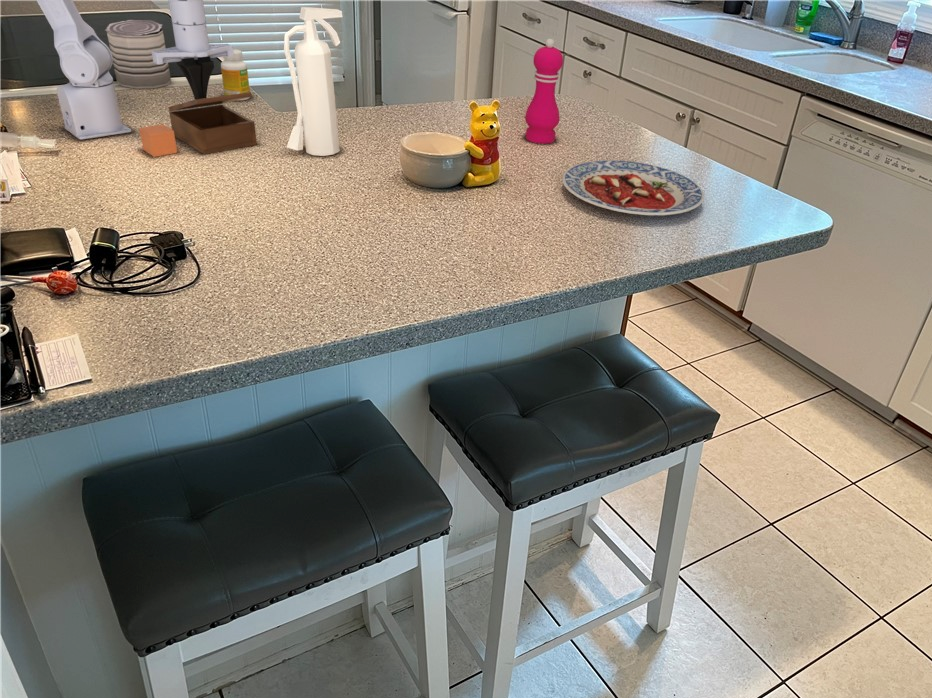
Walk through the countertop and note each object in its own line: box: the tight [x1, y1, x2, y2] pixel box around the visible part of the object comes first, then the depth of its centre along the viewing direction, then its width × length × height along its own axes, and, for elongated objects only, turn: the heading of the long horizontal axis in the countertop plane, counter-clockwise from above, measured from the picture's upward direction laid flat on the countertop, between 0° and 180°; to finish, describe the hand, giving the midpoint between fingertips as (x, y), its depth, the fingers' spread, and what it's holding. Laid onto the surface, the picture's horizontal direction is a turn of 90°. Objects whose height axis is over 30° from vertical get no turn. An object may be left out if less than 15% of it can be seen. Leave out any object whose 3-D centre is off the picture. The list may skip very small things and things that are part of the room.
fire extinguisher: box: [283, 6, 343, 157], centre depth 140 cm, size 7×12×25 cm, turn 123°
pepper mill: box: [524, 38, 564, 145], centre depth 159 cm, size 7×7×20 cm
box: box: [168, 104, 258, 155], centre depth 147 cm, size 13×11×4 cm
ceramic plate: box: [561, 159, 705, 216], centre depth 140 cm, size 26×26×3 cm
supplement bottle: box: [220, 48, 251, 102], centre depth 168 cm, size 5×5×10 cm
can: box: [104, 19, 172, 90], centre depth 171 cm, size 11×11×12 cm
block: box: [138, 123, 178, 158], centre depth 139 cm, size 4×4×4 cm
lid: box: [167, 91, 253, 112], centre depth 144 cm, size 14×11×1 cm
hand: (200, 99), depth 146 cm, fingers closed
